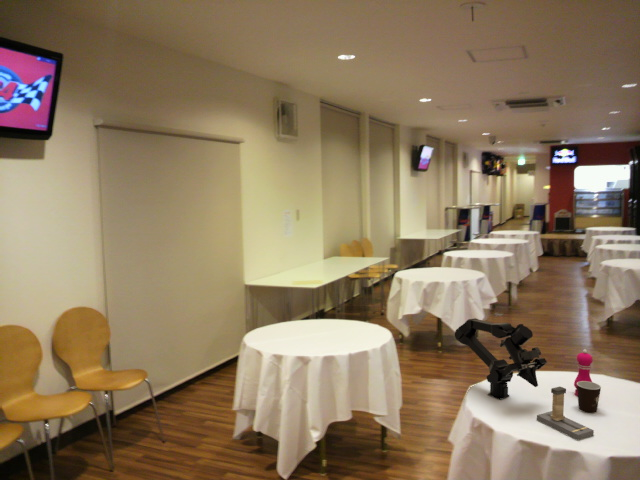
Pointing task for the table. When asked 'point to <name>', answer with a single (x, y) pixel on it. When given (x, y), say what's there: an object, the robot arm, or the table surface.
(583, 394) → the coffee mug
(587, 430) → the fader console
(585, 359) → the pepper mill
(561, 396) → the fader lever
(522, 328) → the robot arm
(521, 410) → the table surface
